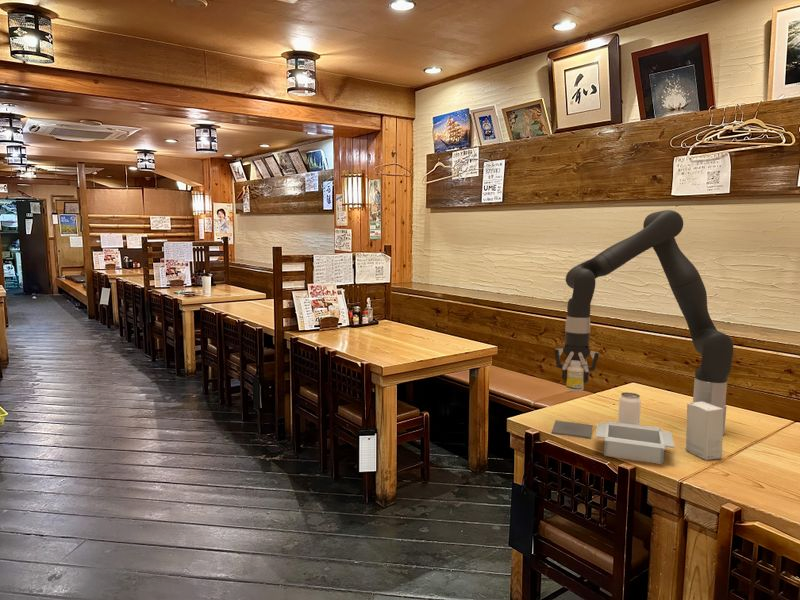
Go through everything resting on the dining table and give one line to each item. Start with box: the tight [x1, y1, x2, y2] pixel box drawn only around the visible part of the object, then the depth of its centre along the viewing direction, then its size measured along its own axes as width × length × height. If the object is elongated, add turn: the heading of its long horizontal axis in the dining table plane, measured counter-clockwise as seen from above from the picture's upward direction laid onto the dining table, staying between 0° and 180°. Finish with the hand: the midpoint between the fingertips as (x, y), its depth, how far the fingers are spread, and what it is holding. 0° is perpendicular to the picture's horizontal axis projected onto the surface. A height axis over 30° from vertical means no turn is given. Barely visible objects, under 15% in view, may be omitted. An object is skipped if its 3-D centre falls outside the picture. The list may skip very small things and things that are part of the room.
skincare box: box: [685, 402, 724, 461], centre depth 162 cm, size 8×6×15 cm
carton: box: [595, 420, 675, 465], centre depth 164 cm, size 21×18×6 cm
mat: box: [550, 420, 594, 440], centre depth 182 cm, size 12×12×1 cm
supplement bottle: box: [565, 360, 585, 392], centre depth 180 cm, size 5×5×10 cm
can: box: [617, 392, 642, 425], centre depth 181 cm, size 6×6×12 cm
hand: (575, 381), depth 180 cm, fingers closed on supplement bottle, 5 cm apart
